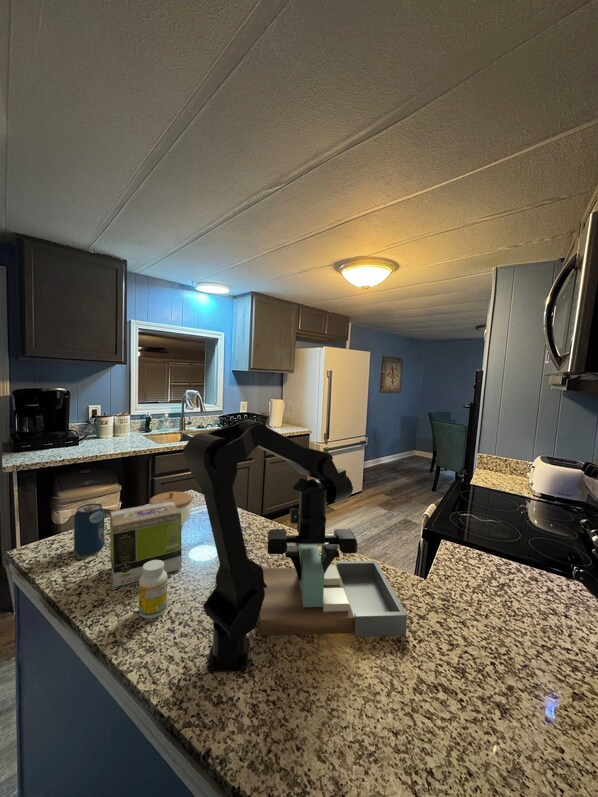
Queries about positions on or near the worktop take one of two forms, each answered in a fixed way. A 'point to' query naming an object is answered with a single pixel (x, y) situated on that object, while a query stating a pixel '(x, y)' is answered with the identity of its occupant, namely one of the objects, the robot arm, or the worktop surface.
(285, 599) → the board
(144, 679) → the worktop surface
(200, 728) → the worktop surface
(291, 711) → the worktop surface
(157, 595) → the supplement bottle
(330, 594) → the tile
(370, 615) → the tray
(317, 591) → the tapered teal post
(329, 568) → the tile
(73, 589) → the worktop surface
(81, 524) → the soda can
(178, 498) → the lidded bowl
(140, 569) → the tea box
